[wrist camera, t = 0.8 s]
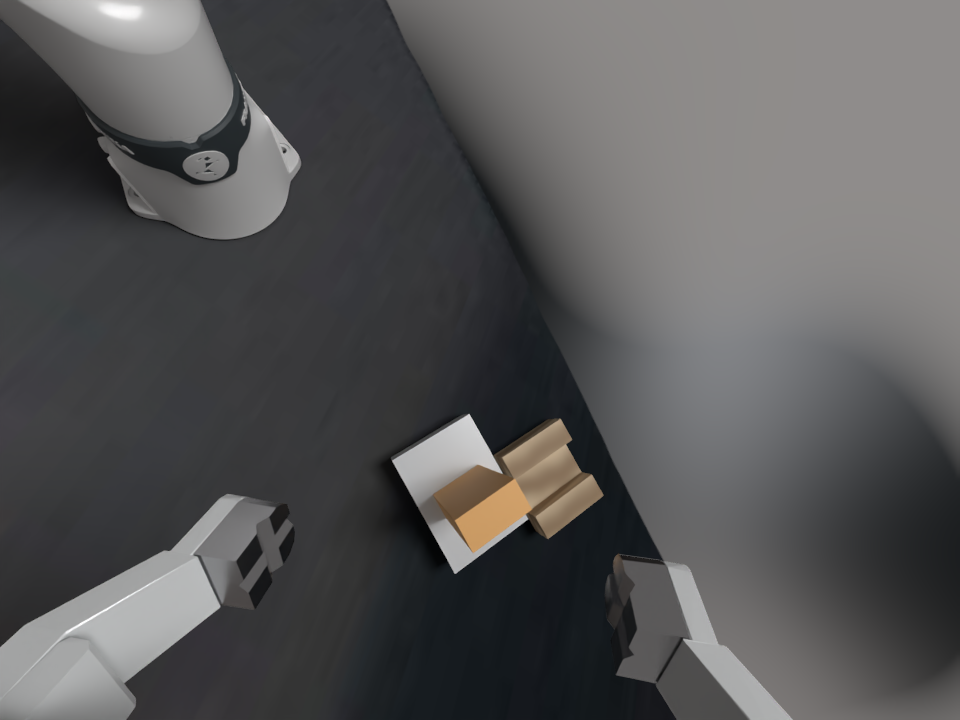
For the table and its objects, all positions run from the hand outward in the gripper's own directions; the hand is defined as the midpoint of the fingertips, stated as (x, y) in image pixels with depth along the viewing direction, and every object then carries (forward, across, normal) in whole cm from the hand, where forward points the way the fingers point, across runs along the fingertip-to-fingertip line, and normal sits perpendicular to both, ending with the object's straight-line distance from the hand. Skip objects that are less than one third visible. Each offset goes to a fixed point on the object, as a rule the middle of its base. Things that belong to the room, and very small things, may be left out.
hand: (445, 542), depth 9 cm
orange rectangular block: (+24, +3, +25) cm, 35 cm away
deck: (+27, +4, +27) cm, 39 cm away
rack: (+32, -7, +28) cm, 43 cm away
